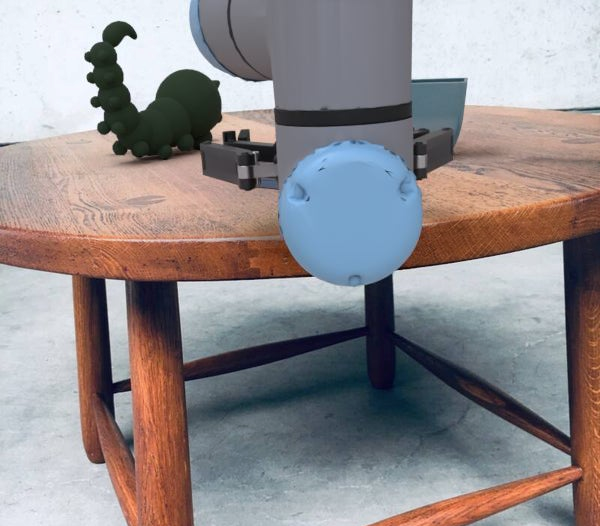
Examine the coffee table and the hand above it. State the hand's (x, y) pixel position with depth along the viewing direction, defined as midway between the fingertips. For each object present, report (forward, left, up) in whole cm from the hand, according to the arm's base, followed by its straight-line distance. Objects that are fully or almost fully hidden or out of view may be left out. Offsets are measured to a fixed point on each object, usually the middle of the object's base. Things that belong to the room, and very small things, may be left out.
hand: (323, 140), depth 79 cm
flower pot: (+12, -35, -7) cm, 38 cm away
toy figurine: (+48, -23, -7) cm, 54 cm away
